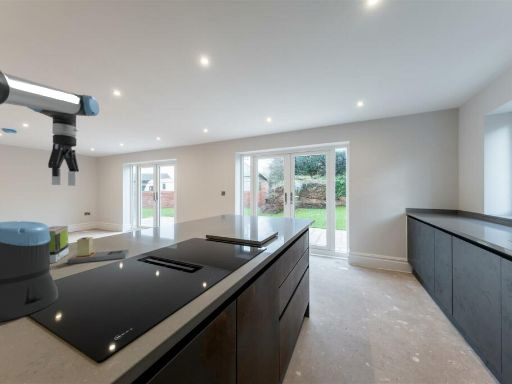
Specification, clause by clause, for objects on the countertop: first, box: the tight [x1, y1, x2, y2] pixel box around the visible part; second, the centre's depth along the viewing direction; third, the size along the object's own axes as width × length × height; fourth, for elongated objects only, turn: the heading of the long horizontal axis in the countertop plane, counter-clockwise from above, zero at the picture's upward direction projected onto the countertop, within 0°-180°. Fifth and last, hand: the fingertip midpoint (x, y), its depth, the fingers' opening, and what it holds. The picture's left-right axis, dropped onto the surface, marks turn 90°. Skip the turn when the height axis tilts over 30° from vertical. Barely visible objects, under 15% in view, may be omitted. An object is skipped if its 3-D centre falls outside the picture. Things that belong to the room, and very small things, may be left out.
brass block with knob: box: [76, 236, 94, 257], centre depth 97 cm, size 4×4×10 cm
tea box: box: [48, 225, 70, 264], centre depth 98 cm, size 15×10×15 cm
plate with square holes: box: [67, 249, 130, 265], centre depth 99 cm, size 8×22×2 cm, turn 111°
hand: (65, 185), depth 90 cm, fingers open, 13 cm apart
